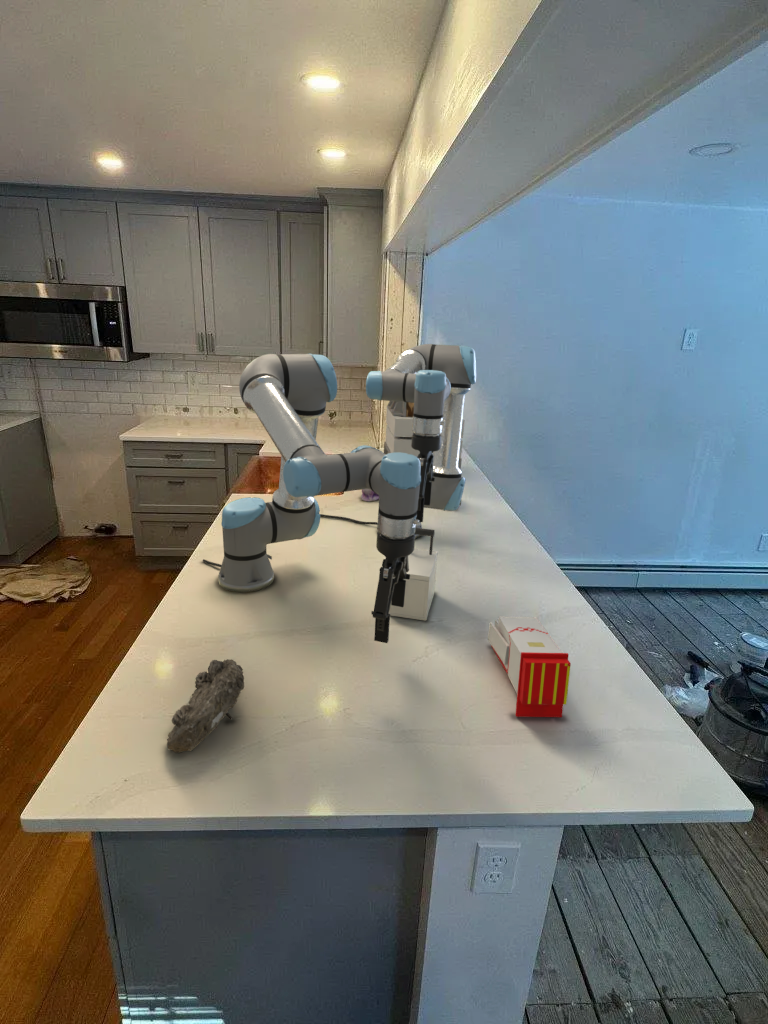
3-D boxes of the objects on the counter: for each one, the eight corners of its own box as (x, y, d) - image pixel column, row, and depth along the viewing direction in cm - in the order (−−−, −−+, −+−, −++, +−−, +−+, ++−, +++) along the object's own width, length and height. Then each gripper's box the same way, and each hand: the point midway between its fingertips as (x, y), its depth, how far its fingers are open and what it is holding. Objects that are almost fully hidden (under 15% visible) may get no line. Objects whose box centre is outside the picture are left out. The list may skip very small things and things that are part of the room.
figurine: (365, 503, 229) (367, 467, 224) (355, 495, 237) (356, 461, 232) (386, 500, 233) (388, 465, 228) (375, 493, 242) (376, 459, 237)
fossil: (192, 660, 117) (244, 628, 112) (224, 691, 120) (276, 661, 115) (142, 746, 98) (202, 712, 93) (182, 779, 101) (242, 748, 96)
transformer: (382, 463, 289) (386, 382, 275) (445, 464, 293) (451, 384, 279) (390, 482, 257) (394, 392, 243) (460, 483, 261) (468, 394, 247)
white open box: (399, 588, 161) (402, 552, 157) (434, 593, 159) (437, 557, 155) (388, 615, 147) (390, 576, 143) (426, 620, 145) (429, 581, 141)
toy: (534, 602, 136) (579, 659, 107) (529, 653, 139) (572, 723, 110) (484, 601, 136) (516, 658, 107) (480, 652, 139) (510, 722, 109)
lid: (402, 551, 158) (404, 522, 155) (437, 555, 156) (439, 527, 153) (390, 576, 143) (392, 545, 140) (429, 581, 141) (431, 550, 138)
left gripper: (399, 564, 99) (392, 662, 108) (427, 511, 121) (419, 595, 130) (358, 557, 101) (354, 653, 109) (393, 505, 123) (387, 589, 132)
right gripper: (435, 445, 131) (428, 530, 138) (447, 425, 154) (441, 499, 161) (403, 442, 132) (398, 527, 139) (419, 423, 155) (415, 497, 162)
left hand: (389, 622), depth 120 cm, fingers open, 13 cm apart
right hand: (421, 512), depth 150 cm, fingers open, 13 cm apart
